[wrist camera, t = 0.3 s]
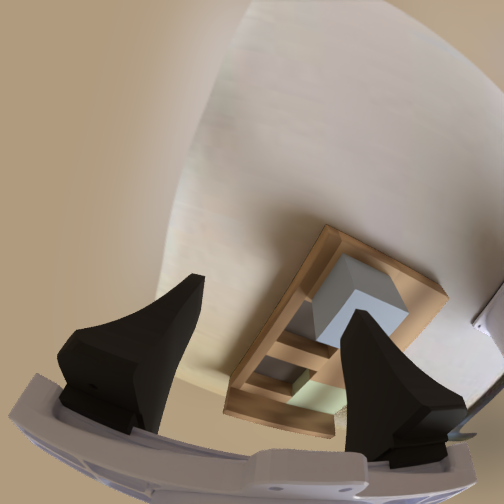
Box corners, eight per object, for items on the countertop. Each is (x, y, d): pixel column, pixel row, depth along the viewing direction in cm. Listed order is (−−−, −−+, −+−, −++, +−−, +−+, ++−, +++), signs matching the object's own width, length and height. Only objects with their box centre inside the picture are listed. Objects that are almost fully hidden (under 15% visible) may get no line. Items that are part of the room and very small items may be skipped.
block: (390, 276, 20) (409, 313, 16) (358, 318, 22) (368, 358, 18) (342, 252, 20) (355, 289, 16) (311, 299, 22) (315, 340, 18)
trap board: (440, 285, 22) (463, 319, 18) (328, 405, 31) (330, 438, 27) (326, 224, 21) (336, 255, 17) (230, 377, 30) (222, 413, 26)
